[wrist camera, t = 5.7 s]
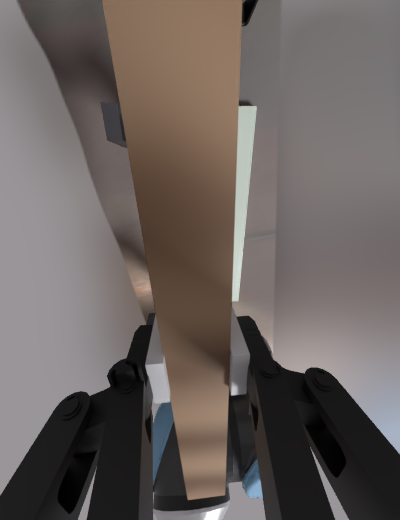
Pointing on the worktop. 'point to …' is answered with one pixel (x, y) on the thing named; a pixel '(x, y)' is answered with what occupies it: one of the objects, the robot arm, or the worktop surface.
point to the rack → (117, 141)
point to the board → (242, 187)
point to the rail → (185, 200)
